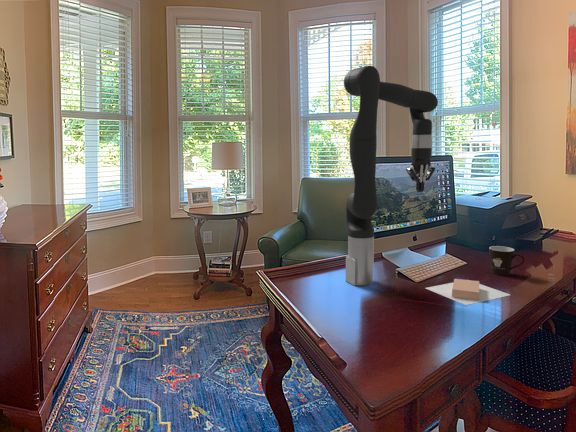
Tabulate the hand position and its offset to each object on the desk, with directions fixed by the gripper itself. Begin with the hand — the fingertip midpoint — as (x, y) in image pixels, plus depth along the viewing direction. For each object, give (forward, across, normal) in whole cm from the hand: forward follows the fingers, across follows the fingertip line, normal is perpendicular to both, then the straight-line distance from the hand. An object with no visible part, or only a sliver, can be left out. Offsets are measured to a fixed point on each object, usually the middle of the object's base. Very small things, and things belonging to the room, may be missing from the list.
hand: (420, 191), depth 170 cm
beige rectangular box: (+29, -2, -27) cm, 40 cm away
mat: (+31, -5, -30) cm, 43 cm away
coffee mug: (+31, +22, -22) cm, 44 cm away
